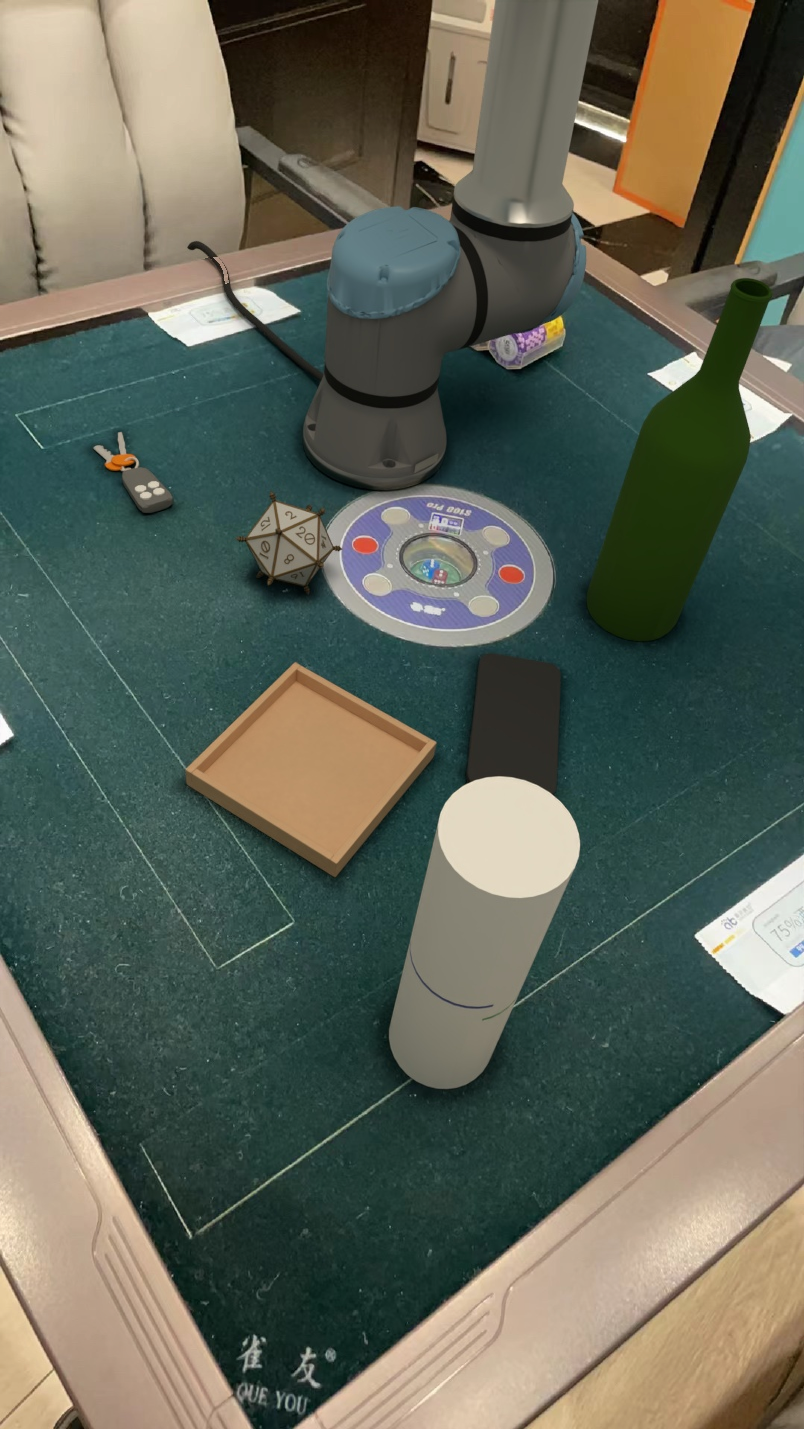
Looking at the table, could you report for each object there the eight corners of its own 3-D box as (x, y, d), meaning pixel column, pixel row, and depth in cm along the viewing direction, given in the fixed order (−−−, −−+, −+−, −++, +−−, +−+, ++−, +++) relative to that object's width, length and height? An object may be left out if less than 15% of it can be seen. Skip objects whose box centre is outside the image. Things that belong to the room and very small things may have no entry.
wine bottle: (694, 611, 101) (836, 294, 76) (642, 657, 97) (775, 334, 72) (620, 563, 105) (732, 244, 80) (566, 605, 100) (667, 280, 75)
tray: (186, 784, 82) (185, 769, 81) (294, 677, 90) (295, 661, 89) (335, 877, 78) (336, 863, 77) (433, 757, 86) (436, 742, 85)
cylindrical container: (385, 988, 73) (431, 776, 54) (485, 985, 74) (565, 776, 55) (393, 1091, 68) (446, 899, 49) (500, 1086, 69) (592, 896, 50)
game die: (305, 597, 102) (374, 531, 97) (273, 629, 95) (345, 559, 90) (240, 529, 101) (306, 459, 96) (202, 556, 93) (271, 481, 89)
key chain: (178, 506, 103) (177, 494, 102) (142, 517, 101) (141, 505, 100) (121, 434, 109) (120, 422, 108) (87, 443, 108) (85, 431, 106)
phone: (562, 664, 94) (556, 798, 84) (560, 670, 94) (554, 805, 84) (480, 650, 94) (465, 783, 84) (478, 657, 94) (463, 789, 84)
